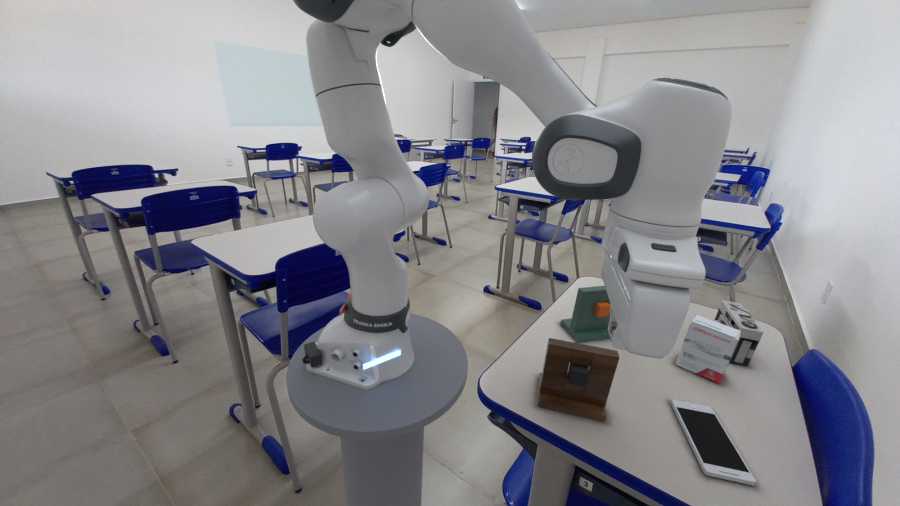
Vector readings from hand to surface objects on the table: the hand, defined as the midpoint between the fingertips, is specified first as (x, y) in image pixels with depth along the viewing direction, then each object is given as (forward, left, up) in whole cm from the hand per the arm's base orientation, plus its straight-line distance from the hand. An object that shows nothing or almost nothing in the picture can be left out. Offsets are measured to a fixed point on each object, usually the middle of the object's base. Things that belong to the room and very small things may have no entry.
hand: (616, 340), depth 45 cm
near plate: (+1, +16, -25) cm, 30 cm away
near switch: (+1, +14, -19) cm, 23 cm away
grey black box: (+42, +42, -25) cm, 65 cm away
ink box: (+32, +31, -25) cm, 51 cm away
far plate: (+10, +41, -25) cm, 49 cm away
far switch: (+11, +39, -19) cm, 45 cm away
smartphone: (+24, +11, -25) cm, 36 cm away
